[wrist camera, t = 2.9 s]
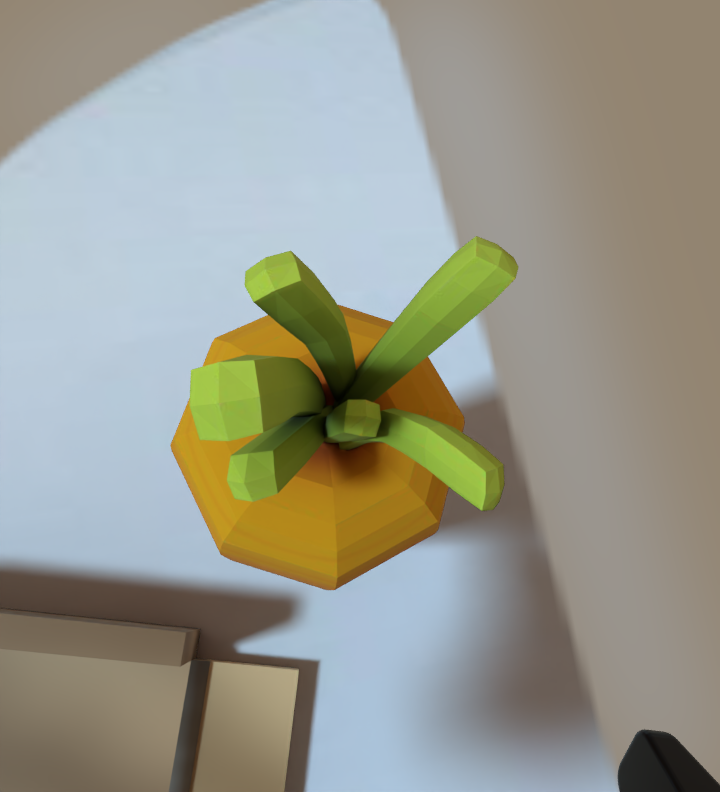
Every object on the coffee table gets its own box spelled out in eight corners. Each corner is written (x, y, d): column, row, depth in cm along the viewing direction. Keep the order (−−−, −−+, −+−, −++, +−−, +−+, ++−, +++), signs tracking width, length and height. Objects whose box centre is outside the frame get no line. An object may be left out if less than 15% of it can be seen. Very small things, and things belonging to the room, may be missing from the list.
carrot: (372, 435, 22) (543, 101, 7) (390, 590, 20) (647, 545, 6) (220, 446, 21) (85, 103, 7) (227, 608, 19) (74, 606, 5)
